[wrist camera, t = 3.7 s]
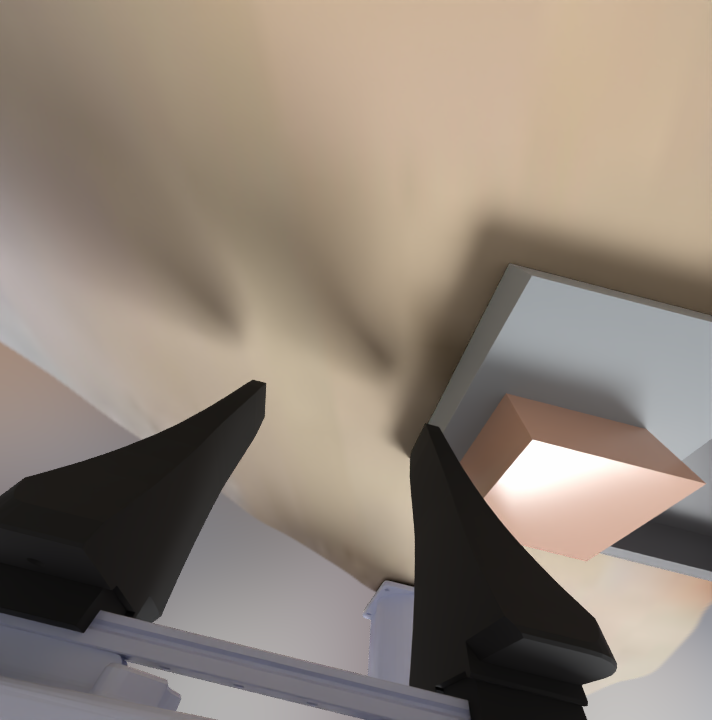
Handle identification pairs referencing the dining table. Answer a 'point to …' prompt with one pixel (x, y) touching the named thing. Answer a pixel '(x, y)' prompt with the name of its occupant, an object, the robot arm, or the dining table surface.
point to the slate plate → (584, 360)
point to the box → (677, 529)
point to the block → (572, 476)
